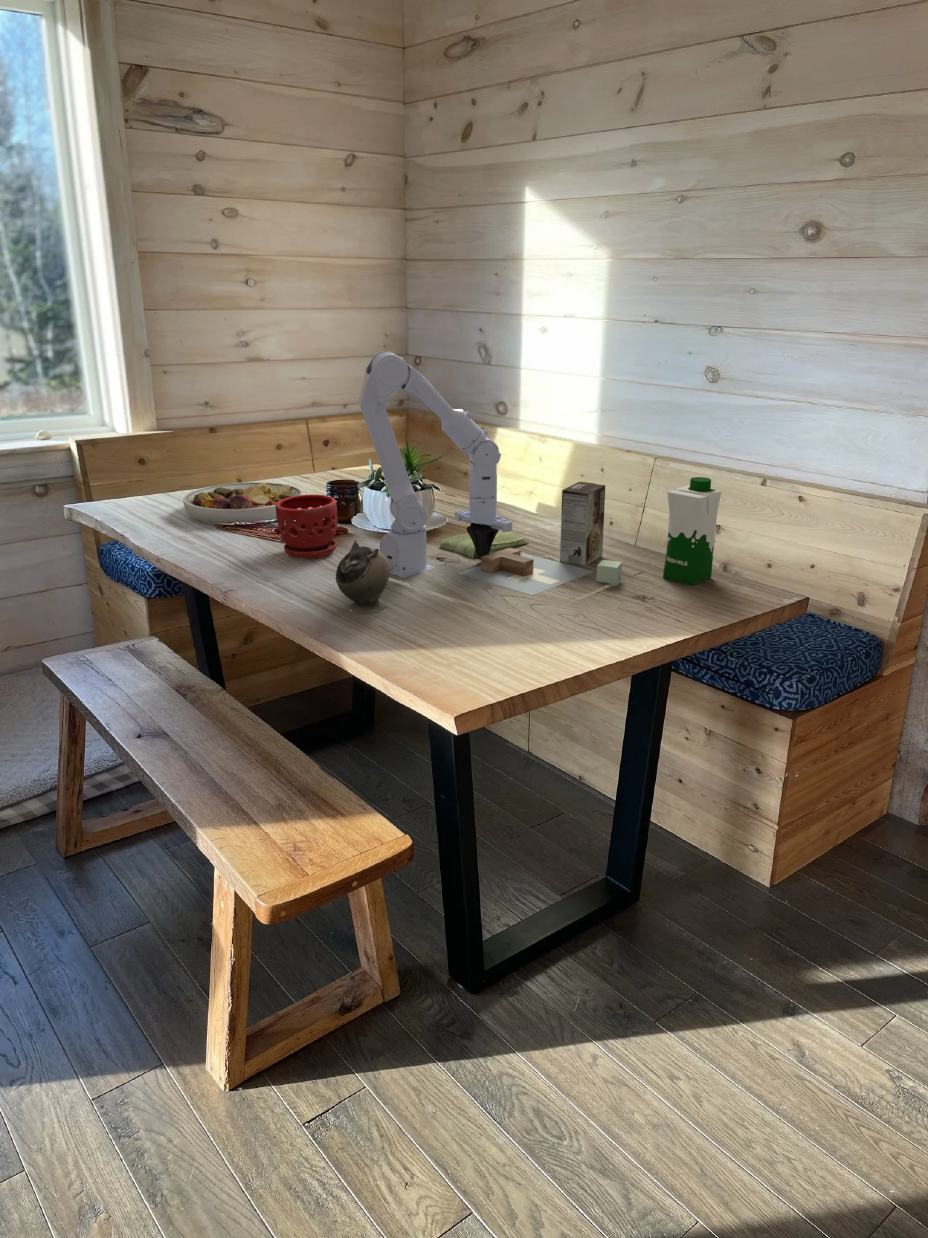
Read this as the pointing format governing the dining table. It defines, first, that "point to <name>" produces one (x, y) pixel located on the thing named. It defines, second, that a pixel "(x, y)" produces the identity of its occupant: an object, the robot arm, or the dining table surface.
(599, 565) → the sage cube
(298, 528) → the plant pot
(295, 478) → the dining table surface
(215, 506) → the bowl
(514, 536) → the washcloth
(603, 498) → the coffee box
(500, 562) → the tee block
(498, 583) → the board
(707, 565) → the milk carton
